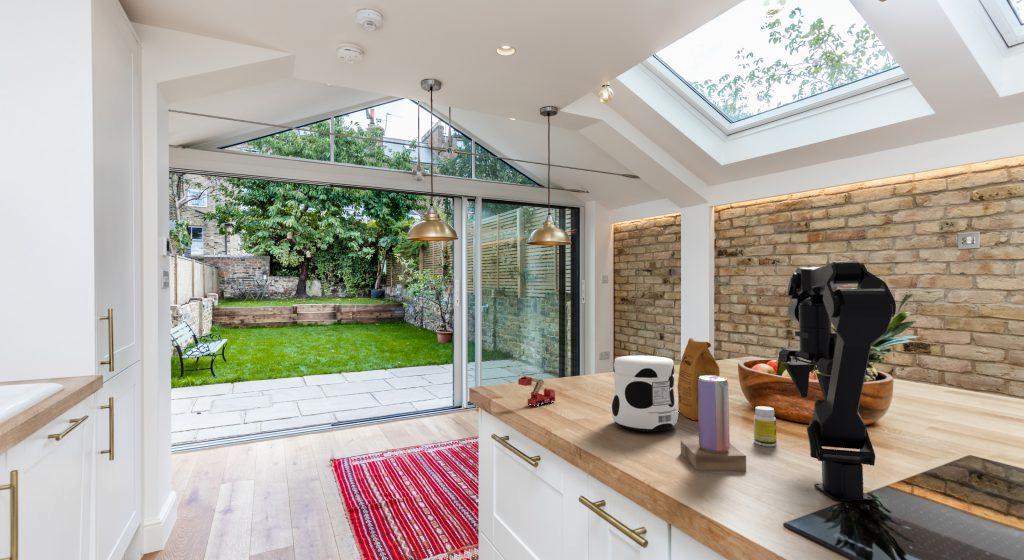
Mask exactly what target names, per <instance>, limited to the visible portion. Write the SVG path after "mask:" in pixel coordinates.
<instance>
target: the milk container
mask: <svg viewBox="0 0 1024 560" xmlns="http://www.w3.org/2000/svg"><path fill="white" fill-rule="evenodd" d="M613 364H614V365H613V372H614V373H613V381H614V387H613V388H614V391H613V396H612V399H611V403H610V405H611V406H610V409H611V415H612V419H613V422H614V423H615V424H616V425H618V426H620V427H621V428H623V429H624V428H625V429H628V430H630V431H631V430H632V431H639V432H646V433H652V432H663V431H668V430H671V429H672V428H674V427H675V426H676V425H677V422H678V419H679V412H678V400H677V399H676V395H675V364H674V360H673V359H672V358H670V357H663V356H654V355H624V356H617V357H615V358H614V362H613Z"/></svg>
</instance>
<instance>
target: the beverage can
mask: <svg viewBox="0 0 1024 560" xmlns="http://www.w3.org/2000/svg"><path fill="white" fill-rule="evenodd" d="M729 392H730V391H729V383H728V378H726V377H724V376H720V375H719V376H700V377H699V381H698V419H699V420H698V440H699V446H700V448H701V449H702V450H703V451H706V452H709V453H716V454H722V453H726V452H728V450H729V448H730V444H731V443H730V403H729V402H730V395H729V394H730V393H729Z"/></svg>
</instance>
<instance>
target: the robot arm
mask: <svg viewBox="0 0 1024 560" xmlns="http://www.w3.org/2000/svg"><path fill="white" fill-rule="evenodd" d="M848 285H857V286H858V287H859V288H838V287H843V286H848ZM787 286H788V287H787V290H786V294H787V296H788V299H789V300H793V301H792V302H790V304H789V305H788V307H787V315H788V316H789V318H790V320H792V321H793V322H795V323H797V324H798V331H797V330H795V331H794V337H799V348H782V349H781V350H780V351H779V352H778V361H779V362H781V364H782V366H783V367H784V368H785V370H786V372H787V373H788V375H789V377H790V379H791V380H792V383H793V384H794V386H795V388H796V390H797V392H798V393H799V395H800V397H801V398H808V394H809V393H808V392H809V384H810V373H811V372H812V371H813V369H814V368H815V367H816V370H817V372H818V373H816V377H817V380H818V384H819V387H820V389H821V393H822V396H823V399H817V400H816V401H815V402H814V406H813V407H814V409H813V413H812V419H810V420H809V423H808V426H807V427H806V432H807V438H808V443H809V452H810V454H809V455H810V457H811V458H813V459H816V460H817V461H819V462H821V479H822V483H820V482H819V483H813V484H814V488H816V489H817V490H819V491H820V492H822V493H823V494H825V495H826V496H828V497H829V498H831V499H832V500H834V501H835V502H854V501H853V500H872V499H873V497H872V496H870V495H868V494H867V493H866V492H864V468H863V467H864V465H867V466H873V467H874V466H875V463H876V453H875V450H874V448H873V444H872V442H871V438H870V435H869V432H868V429H867V426H866V424H865V421H864V420H863V418H862V416H861V414H860V412H859V409H860V404H861V398H862V393H863V389H864V384H865V378H866V373H867V368H868V363H869V358H870V355H871V349H872V344H874V343H875V342H876V341H877V340H879V339H880V338H881V337H883V336H884V335H885V334H886V333H887V332H889V331H888V330H889V328H890V327H889V326H890V324H891V321H892V318H894V317H895V314H896V311H897V304H896V300H895V298H894V296H893V293H892V291H891V290H890V288H889V285H888V284H887V283H886V281H885V280H883V279H881V278H880V277H878V276H876V275H875V274H873V273H871V272H869V270H868V269H867V267H866V266H865V263H864V262H861V261H858V260H840V261H839V260H836V261H831V262H828V263H827V264H826V265H823V266H819V267H817V266H816V267H814V266H813V267H812V266H811V267H797V268H796V269H795V272H793V273H792V275H791V277H790V279H789V282H788V285H787ZM832 327H833V328H834V330H835V331H836V332H832V329H833V328H832ZM823 447H824V448H823ZM833 448H836V449H833ZM837 448H838V449H837ZM858 450H859V451H858Z"/></svg>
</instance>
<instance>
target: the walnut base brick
mask: <svg viewBox="0 0 1024 560" xmlns="http://www.w3.org/2000/svg"><path fill="white" fill-rule="evenodd" d="M680 455H681V456H682V457H683V458H684V459H685V460H686V462H688V464H690V466H692V468H693V469H694V470H695V471H697V472H700V471H703V472H704V471H705V472H707V471H712V472H713V471H715V472H716V471H718V472H719V471H720V472H721V471H722V472H725V471H726V472H730V471H731V472H734V471H735V472H736V471H738V472H742V471H747V455H745V454H744V453H743V452H742V451H741V450H739V449H738V448H737V447H735V446H734V445H733V444H732V443H730V448H729V450H728V452H726V453H722V454H716V453H709V452H706V451H703V450H702V449H701V448H700V446H699V439H695V440H694V439H685V440H684V439H680Z"/></svg>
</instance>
